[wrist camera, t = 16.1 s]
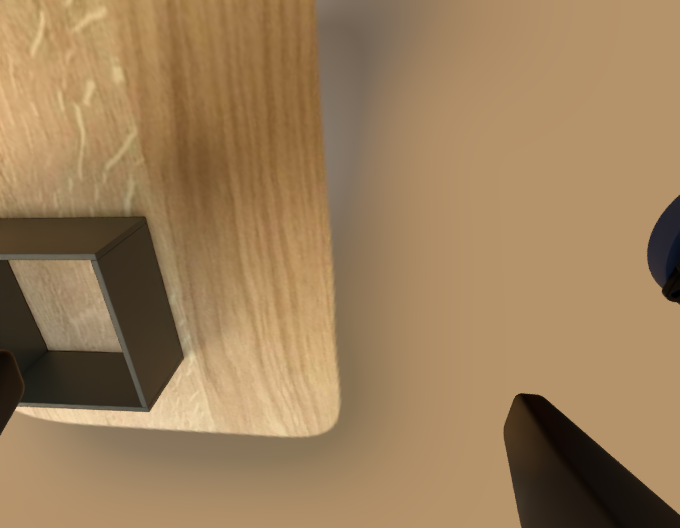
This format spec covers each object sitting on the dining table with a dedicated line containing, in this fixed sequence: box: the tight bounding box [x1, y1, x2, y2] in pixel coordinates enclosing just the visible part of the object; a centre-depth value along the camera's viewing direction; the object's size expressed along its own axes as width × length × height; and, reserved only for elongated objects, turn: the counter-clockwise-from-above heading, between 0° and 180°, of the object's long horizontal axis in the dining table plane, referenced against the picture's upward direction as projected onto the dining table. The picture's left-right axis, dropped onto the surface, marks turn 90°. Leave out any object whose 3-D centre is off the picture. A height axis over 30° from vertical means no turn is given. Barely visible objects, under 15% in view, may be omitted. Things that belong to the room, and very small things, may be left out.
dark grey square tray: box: [0, 217, 184, 412], centre depth 21 cm, size 9×9×4 cm
